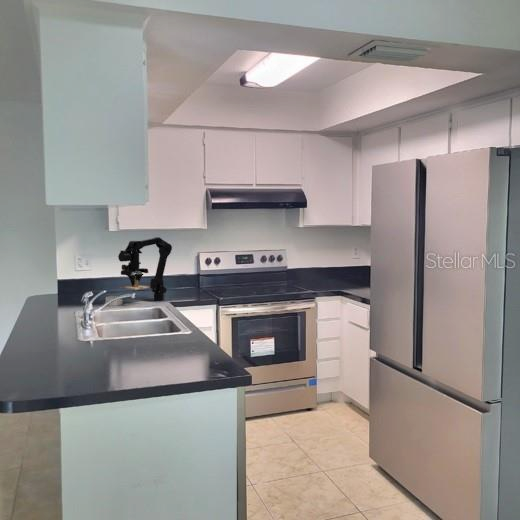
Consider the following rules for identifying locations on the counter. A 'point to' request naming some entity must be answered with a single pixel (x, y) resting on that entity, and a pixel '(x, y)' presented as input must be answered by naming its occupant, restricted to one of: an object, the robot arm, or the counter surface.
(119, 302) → the bowl
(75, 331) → the counter surface
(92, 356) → the counter surface
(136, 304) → the mat
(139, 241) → the robot arm
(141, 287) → the lid
